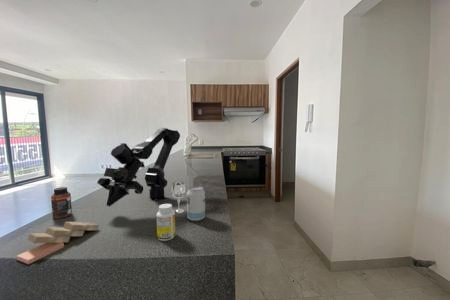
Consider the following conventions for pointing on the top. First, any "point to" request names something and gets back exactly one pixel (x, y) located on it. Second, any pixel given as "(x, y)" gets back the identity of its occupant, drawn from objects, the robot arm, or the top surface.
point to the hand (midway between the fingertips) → (107, 205)
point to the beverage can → (196, 203)
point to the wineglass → (178, 194)
